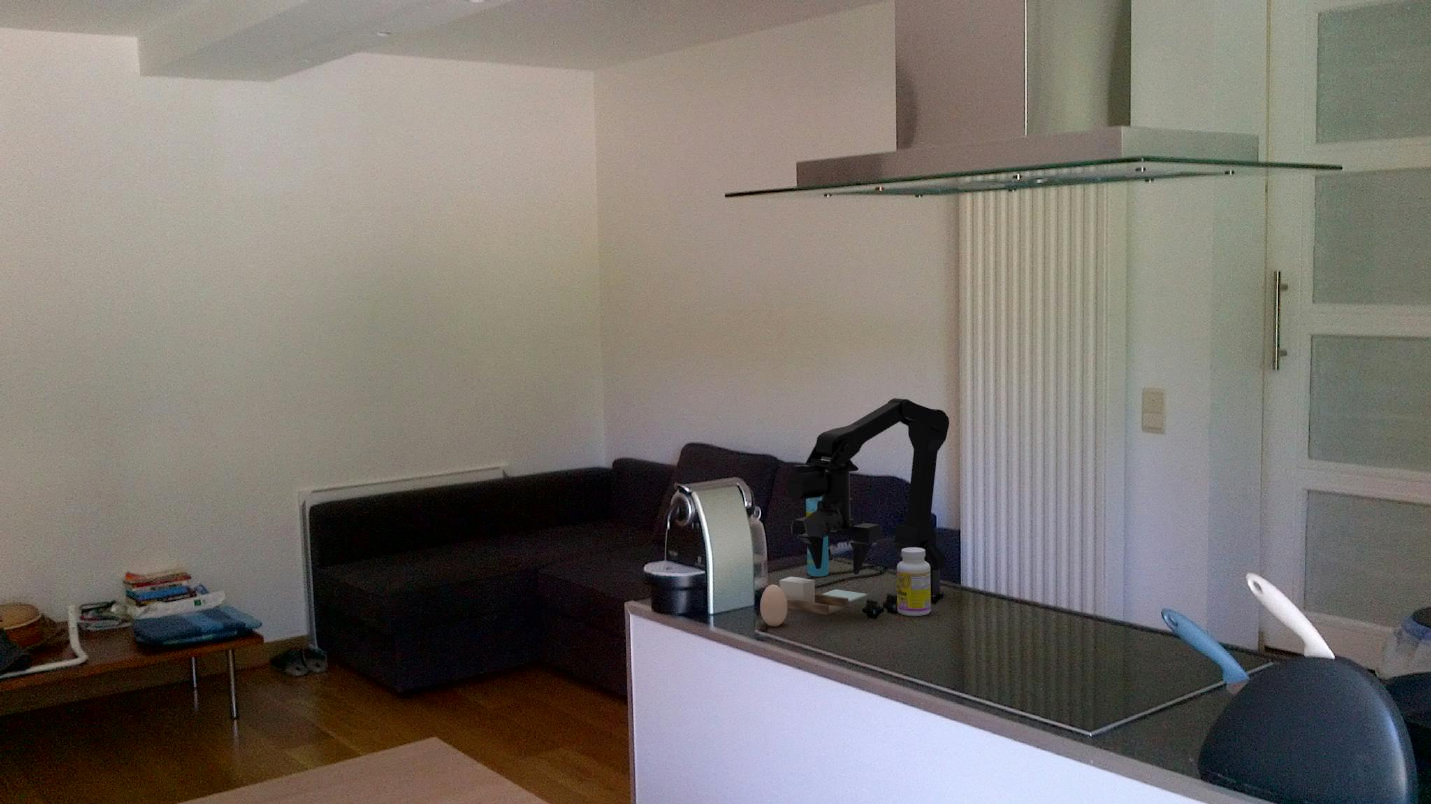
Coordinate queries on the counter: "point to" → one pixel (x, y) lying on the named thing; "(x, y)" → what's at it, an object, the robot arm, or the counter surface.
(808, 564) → the tube
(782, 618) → the egg
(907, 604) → the supplement bottle
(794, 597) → the block
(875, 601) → the counter surface
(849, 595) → the pad
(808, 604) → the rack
